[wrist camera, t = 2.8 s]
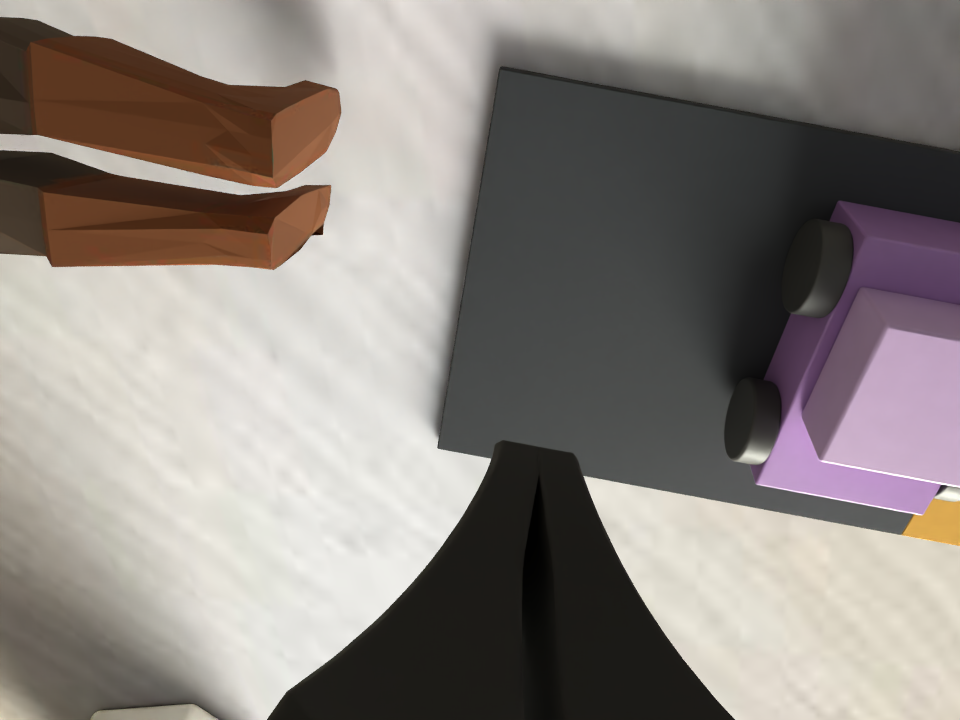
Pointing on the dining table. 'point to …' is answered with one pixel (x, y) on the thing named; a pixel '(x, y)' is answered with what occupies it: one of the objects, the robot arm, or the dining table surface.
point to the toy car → (861, 365)
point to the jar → (155, 713)
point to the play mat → (655, 280)
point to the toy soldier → (152, 157)
